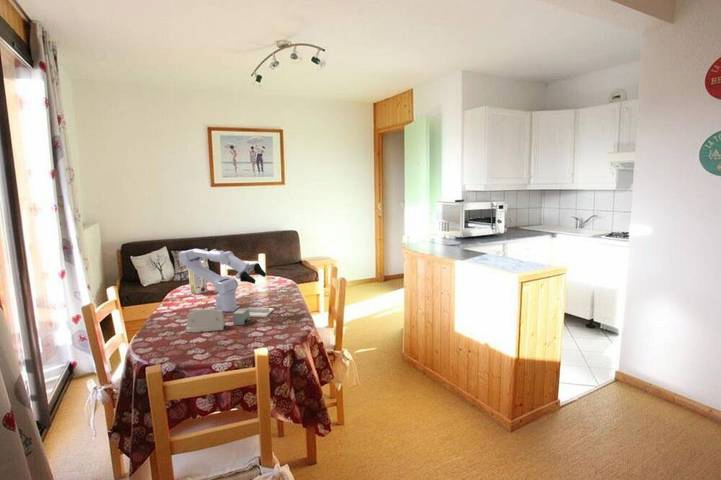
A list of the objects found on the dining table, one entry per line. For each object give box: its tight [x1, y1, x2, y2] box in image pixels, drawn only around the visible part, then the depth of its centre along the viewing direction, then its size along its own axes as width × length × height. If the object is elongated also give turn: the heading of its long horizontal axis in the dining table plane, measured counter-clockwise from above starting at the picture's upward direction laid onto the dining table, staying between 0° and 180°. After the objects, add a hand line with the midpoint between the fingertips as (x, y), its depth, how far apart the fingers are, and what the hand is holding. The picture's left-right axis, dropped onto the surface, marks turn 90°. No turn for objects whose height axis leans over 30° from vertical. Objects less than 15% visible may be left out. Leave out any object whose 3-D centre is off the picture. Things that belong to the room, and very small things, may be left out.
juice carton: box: [187, 260, 208, 295], centre depth 244 cm, size 8×9×19 cm
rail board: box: [244, 306, 275, 318], centre depth 206 cm, size 14×11×2 cm
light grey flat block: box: [185, 308, 226, 333], centre depth 186 cm, size 17×5×10 cm, turn 100°
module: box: [232, 307, 251, 326], centre depth 193 cm, size 5×7×6 cm
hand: (260, 278), depth 201 cm, fingers open, 7 cm apart
